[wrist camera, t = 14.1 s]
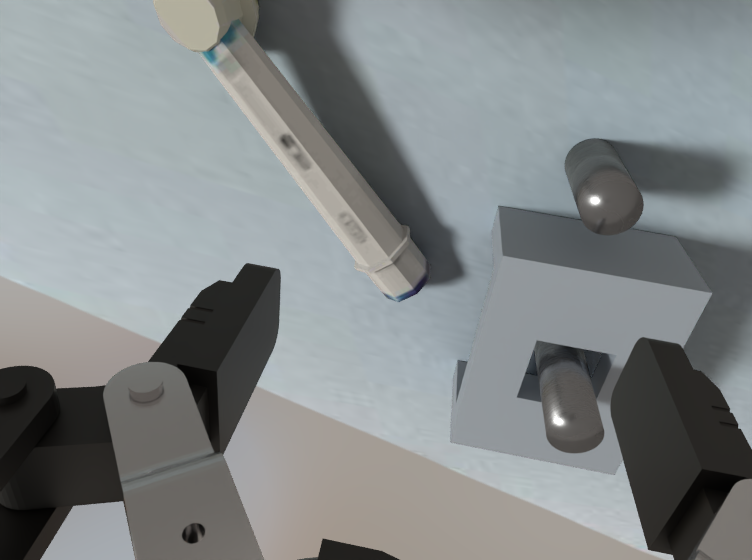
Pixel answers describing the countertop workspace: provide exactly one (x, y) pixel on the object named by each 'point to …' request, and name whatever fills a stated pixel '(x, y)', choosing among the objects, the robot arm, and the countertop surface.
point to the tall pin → (567, 398)
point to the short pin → (602, 188)
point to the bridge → (566, 325)
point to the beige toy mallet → (298, 139)
